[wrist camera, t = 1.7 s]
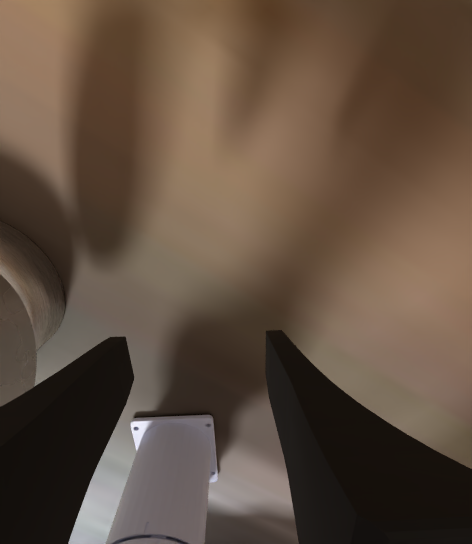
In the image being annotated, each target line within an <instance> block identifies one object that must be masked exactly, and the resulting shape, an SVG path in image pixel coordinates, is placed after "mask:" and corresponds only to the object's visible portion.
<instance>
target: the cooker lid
mask: <svg viewBox="0 0 472 544" xmlns="http://www.w3.org/2000/svg"><path fill="white" fill-rule="evenodd" d="M35 376H36V343H35V336H34V331H33V327H32V324H31V320H30V317H29V315H28V312H27V310H26V307H25V305H24V304H23V302H22V300H21V298H20V297H19V295H18V294H17V292H16V291H15V290H14V288H13V287H12V286H11V284H10V283H9V282H8V281H7V280H6V279H5V278H4V277H3V276H2V275H1V274H0V407H1V406H3V405H5V404H6V403H8V402H10V401H12V400H13V399H15V398H17V397H19V396H20V395H22V394H24V393H25V392H27V391H29V390H30V389H32V388H33V387H34V384H35Z"/></svg>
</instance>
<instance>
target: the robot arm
mask: <svg viewBox="0 0 472 544" xmlns="http://www.w3.org/2000/svg"><path fill="white" fill-rule="evenodd" d="M266 379H267V387H268V394H269V399H270V403H271V407H272V411H273V415H274V419H275V423H276V427H277V431H278V435H279V439H280V443H281V447H282V451H283V455H284V459H285V463H286V468H287V473H288V479H289V485H290V491H291V497H292V503H293V509H294V515H295V521H296V528H297V534H298V540H299V544H472V469H470V468H468V467H466V466H464V465H462V464H460V463H458V462H457V461H455V460H453V459H451V458H449V457H447V456H445V455H443V454H441V453H439V452H437V451H435V450H433V449H432V448H430V447H428V446H426V445H425V444H423V443H421V442H419V441H418V440H416V439H414V438H412V437H411V436H409V435H407V434H406V433H404V432H402V431H401V430H399V429H397V428H396V427H394V426H392V425H391V424H389V423H388V422H386V421H385V420H383V419H382V418H380V417H379V416H377V415H376V414H374V413H373V412H371V411H370V410H368V409H367V408H365V407H364V406H362V405H361V404H360V403H358V402H357V401H355V400H354V399H353V398H352V397H350V396H349V395H348V394H346V393H345V392H344V391H343V390H341V389H340V388H339V387H337V386H336V385H335V384H334V383H333V382H331V381H330V380H329V379H328V378H327V377H326V376H325V375H324V374H323V373H321V372H320V371H319V370H318V369H317V368H316V367H315V366H314V365H313V364H312V363H311V362H310V361H309V360H308V359H307V358H306V357H305V356H304V355H303V354H302V353H301V352H300V350H299V349H298V348H297V347H296V346H295V345H294V344H293V343H292V342H291V340H290V339H289V338H288V337H287V336H286V335H285V333H284V332H283V331H282V330H276V331H266ZM133 381H134V374H133V369H132V365H131V360H130V355H129V351H128V346H127V341H126V337H110V338H108V339H106V340H104V341H103V342H101V343H100V344H98V345H97V346H95V347H94V348H92V349H91V350H89V351H88V352H86V353H85V354H83V355H82V356H81V357H79V358H78V359H76V360H75V361H73V362H72V363H70V364H69V365H67V366H66V367H64V368H63V369H61V370H60V371H58V372H57V373H55V374H54V375H52V376H51V377H49V378H47V379H46V380H44V381H43V382H41V383H40V384H38V385H36V386H35V387H33V388H32V389H30V390H29V391H27V392H25V393H24V394H22V395H20V396H19V397H17V398H15V399H13V400H12V401H10V402H8V403H6V404H5V405H3V406H1V407H0V544H68V542H69V539H70V536H71V533H72V530H73V527H74V525H75V522H76V519H77V516H78V513H79V511H80V508H81V505H82V502H83V500H84V497H85V494H86V492H87V489H88V486H89V484H90V481H91V479H92V476H93V474H94V472H95V469H96V467H97V465H98V463H99V461H100V458H101V456H102V454H103V452H104V450H105V448H106V446H107V444H108V441H109V439H110V437H111V435H112V433H113V431H114V429H115V427H116V424H117V422H118V420H119V418H120V416H121V414H122V411H123V409H124V407H125V405H126V402H127V399H128V396H129V394H130V390H131V387H132V384H133ZM130 425H131V429H132V434H133V438H134V442H135V446H136V450H137V453H136V456H135V459H134V462H133V465H132V468H131V471H130V474H129V477H128V480H127V482H126V485H125V488H124V491H123V494H122V497H121V500H120V503H119V506H118V509H117V512H116V515H115V518H114V521H113V524H112V527H111V530H110V533H109V536H108V539H107V541H106V544H205V534H206V519H207V504H208V490H209V482H216V481H217V480H218V469H217V457H216V445H215V434H214V422H213V417H212V416H211V415H191V416H168V417H146V418H134V419H132V421H131V423H130Z"/></svg>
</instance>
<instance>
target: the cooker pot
mask: <svg viewBox="0 0 472 544" xmlns="http://www.w3.org/2000/svg"><path fill="white" fill-rule="evenodd" d="M0 274H1V275H2V276H3V277H4V278H5V279H6V280H7V281H8V282H9V283H10V284H11V286H12V287H13V288H14V290H15V291H16V292H17V294H18V295H19V297H20V298H21V300H22V302H23V304H24V305H25V307H26V310H27V312H28V315H29V317H30V320H31V324H32V327H33V331H34V336H35V343H36V350H37V349H39V348H40V347H41V346H42V345H43V344H44V343H45V342H46V341H48V340H49V339H50V338H51V337H52V336H53V335H54V334H55V332H56V331H57V330H58V328H59V327H60V324H61V322H62V320H63V316H64V312H65V294H64V290H63V286H62V283H61V280H60V277H59V275H58V273H57V271H56V269H55V267H54V266H53V264H52V263H51V261H50V260H49V258H48V257H47V256H46V255H45V254H44V253H43V251H42V250H41V249H40V248H39V247H38V246H37V245H36V244H35V243H34V242H33V241H31V240H30V239H29V238H28V237H26V236H25V235H24V234H23V233H21V232H19V231H18V230H16V229H15V228H13V227H11V226H10V225H8V224H6V223H4V222H2V221H0Z"/></svg>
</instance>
